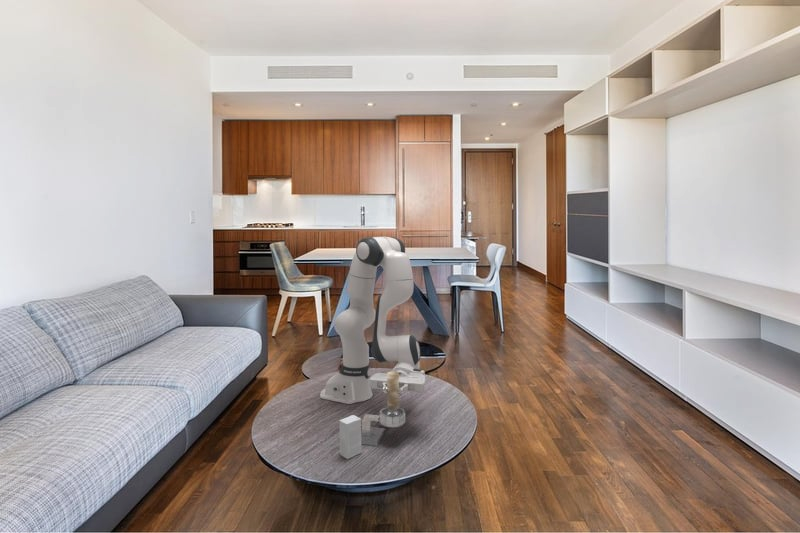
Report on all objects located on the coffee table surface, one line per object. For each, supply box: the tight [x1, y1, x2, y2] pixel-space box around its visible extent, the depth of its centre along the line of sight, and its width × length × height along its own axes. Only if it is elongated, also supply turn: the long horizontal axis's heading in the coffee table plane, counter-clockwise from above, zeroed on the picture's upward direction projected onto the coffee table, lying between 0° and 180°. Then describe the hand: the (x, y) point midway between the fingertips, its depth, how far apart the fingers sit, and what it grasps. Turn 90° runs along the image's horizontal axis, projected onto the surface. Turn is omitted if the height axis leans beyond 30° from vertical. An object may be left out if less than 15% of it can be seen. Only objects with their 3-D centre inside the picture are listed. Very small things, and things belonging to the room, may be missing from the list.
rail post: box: [386, 370, 400, 409], centre depth 159 cm, size 4×4×12 cm
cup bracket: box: [361, 406, 406, 447], centre depth 161 cm, size 18×10×10 cm, turn 76°
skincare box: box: [338, 414, 363, 460], centre depth 151 cm, size 6×4×12 cm
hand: (392, 391), depth 158 cm, fingers closed on rail post, 4 cm apart
